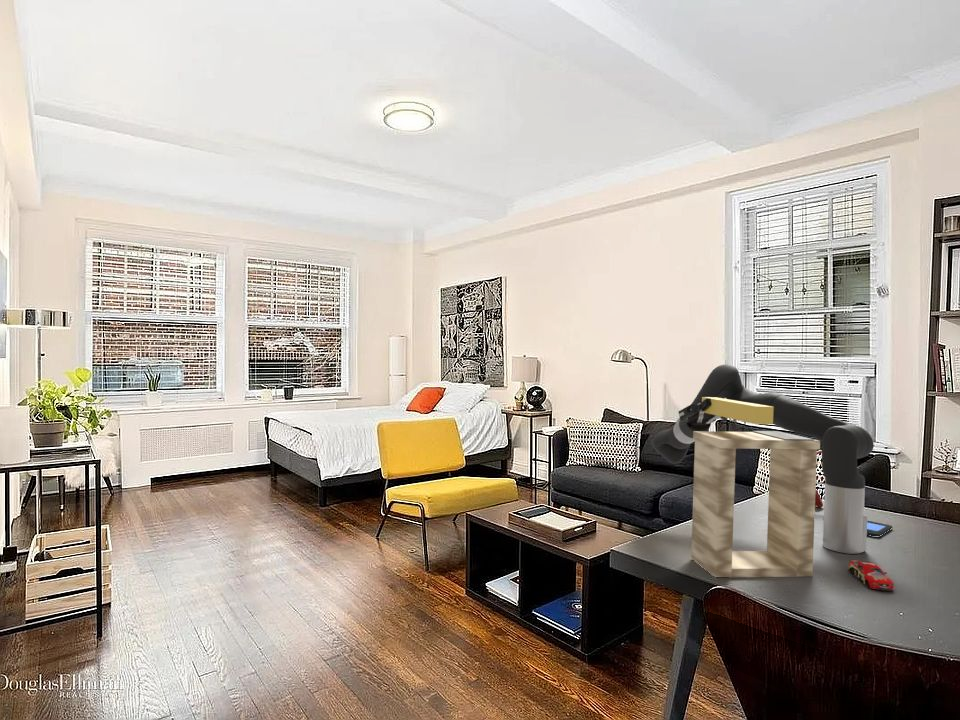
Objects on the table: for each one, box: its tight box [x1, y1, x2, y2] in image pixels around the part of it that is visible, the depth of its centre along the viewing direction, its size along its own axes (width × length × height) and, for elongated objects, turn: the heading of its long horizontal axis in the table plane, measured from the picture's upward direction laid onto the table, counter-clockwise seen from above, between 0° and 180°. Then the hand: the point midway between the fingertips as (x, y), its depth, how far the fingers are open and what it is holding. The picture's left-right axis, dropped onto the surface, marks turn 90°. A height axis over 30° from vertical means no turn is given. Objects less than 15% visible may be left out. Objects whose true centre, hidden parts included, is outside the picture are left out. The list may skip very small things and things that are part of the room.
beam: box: [702, 397, 774, 425], centre depth 148 cm, size 4×26×4 cm, turn 6°
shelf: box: [690, 430, 821, 578], centre depth 145 cm, size 24×14×32 cm, turn 96°
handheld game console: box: [867, 520, 893, 536], centre depth 181 cm, size 16×13×9 cm
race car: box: [848, 559, 895, 592], centre depth 138 cm, size 13×5×4 cm, turn 169°
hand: (718, 401), depth 156 cm, fingers closed on beam, 4 cm apart
